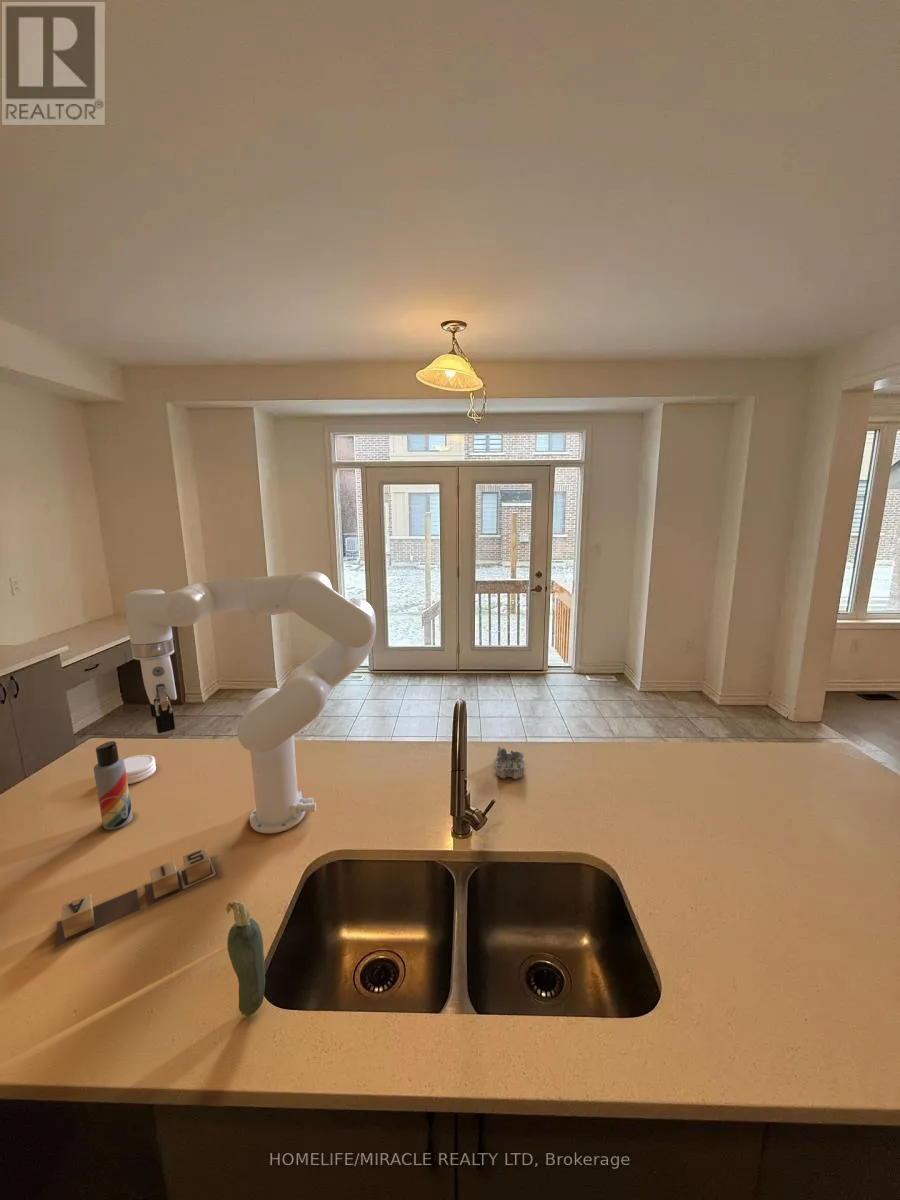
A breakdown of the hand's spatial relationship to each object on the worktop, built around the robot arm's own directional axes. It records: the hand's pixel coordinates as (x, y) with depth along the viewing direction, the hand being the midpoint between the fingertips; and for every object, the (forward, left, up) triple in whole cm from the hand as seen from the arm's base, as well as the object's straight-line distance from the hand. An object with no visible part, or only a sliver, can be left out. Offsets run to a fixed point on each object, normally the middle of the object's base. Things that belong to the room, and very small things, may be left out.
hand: (163, 722), depth 101 cm
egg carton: (-81, -20, -26) cm, 88 cm away
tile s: (-11, +14, -26) cm, 32 cm away
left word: (+2, +24, -26) cm, 35 cm away
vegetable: (-32, +42, -26) cm, 59 cm away
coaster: (+23, -23, -26) cm, 42 cm away
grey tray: (-9, +16, -26) cm, 32 cm away
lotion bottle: (+15, -3, -26) cm, 31 cm away
